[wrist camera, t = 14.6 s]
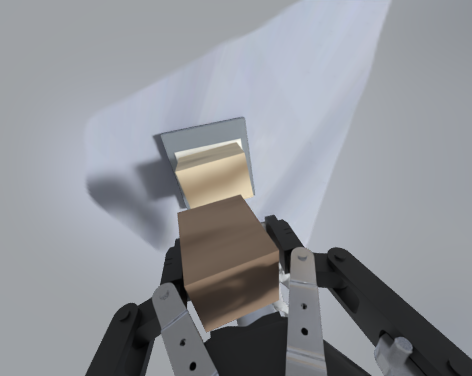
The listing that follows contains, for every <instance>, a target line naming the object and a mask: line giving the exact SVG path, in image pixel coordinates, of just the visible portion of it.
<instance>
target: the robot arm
mask: <svg viewBox="0 0 472 376" xmlns="http://www.w3.org/2000/svg"><path fill="white" fill-rule="evenodd" d="M265 225H266V232H267V234H268V235H269V236H270V238H271V239H272V241H273V242H274V244H275V245H276V247H277V248H278V250H279V263H280V265H281V267H282V269H283V271H284V273H285V274H289V273H290V284H289V309H288V317H281V315H280V313H279V311H277V312H275V310H274V307H273V305H272V304H269V305H267V306H265V307H263V308H260V309H258V310H256V311H254V312H251V313H249V314H247V315H245V316H242V317H240V318H238V319H237V324H238V326H227V327H224V328H220V329H217V330H214V331H211V332H210V335H211V338H210V339H208V340H207V341H206V342H203V340H202V338H201V336H200V334H199V332H198V330H197V328H196V326H195V324H194V322H193V320H192V318H191V316H190V314H189V312H188V310H187V302H188V301H191V299H190V297H189V295H188V293H187V291H186V289H185V287H184V278H183V267H182V257H181V246H180V238H178V239H176V240H175V246H174V247H171V248H169V250H168V252H167V253H166V257H165V262H164V268H163V273H162V278H161V283H160V286H159V287H158V288H157V289H156V290H155V292H154V293H153V296H152V297H151V298H150V299H149V300H147V301H145V302H144V303H142V304H140V305H138V306H137V305H136V304H135V303H128V304H126V305H124V306H123V307H121V308H120V309H119V310H118V311H117V312H116V313H115V315H114V317H113V318H112V321H111V323H110V325H109V327H108V329H107V331H106V333H105V335H104V337H103V339H102V341H101V344H100V346H99V348H98V350H97V352H96V354H95V356H94V358H93V360H92V362H91V365H90V367H89V368H88V371H87V373H86V375H85V376H145V374H146V370H147V366H148V363H149V359H150V355H151V352H152V348H153V344H154V340H155V338H156V337H157V336H159V335H160V334H161V335H162V338H163V341H164V344H165V347H166V350H167V353H168V356H169V359H170V362H171V365H172V369H173V371H174V375H175V376H371V375H370V374H369V373H367V372H366V371H365V370H363V369H362V368H361V367H359V366H358V365H357V364H355V363H354V362H353V361H351V360H350V359H349V358H347V357H346V356H345V355H344V354H342V353H341V352H340V351H338V350H337V349H335V348H334V347H333V346H332V345H330V344H329V343H328V342H326V341H325V340H323V336H322V325H321V315H320V304H319V294H318V287H322V288H328V289H329V291H330V292H331V293H332V294H333V296H334V297H335V298H336V299H337V301H338V302H339V303H340V304H341V305H342V307H343V308H344V309H345V310H346V312H347V313H348V314H349V315H350V316H351V318H352V319H353V320H354V321H355V323H356V324H357V325H358V326H359V328H360V329H361V330H362V331H363V332H364V334H365V335H366V336H367V337H368V339H369V340H370V341H371V342H372V344H373V345H374V346H375V347H376V348H375V350H374V356H375V360H376V362H377V365H378V366H379V368H380V369H381V371H382V373H383V375H384V376H472V359H471V358H469V357H468V356H467V355H466V354H465V353H464V352H463V351H462V350H460V349H459V348H458V347H457V346H456V345H455V344H453V343H452V342H451V341H450V340H449V339H448V338H447V337H445V336H444V335H443V334H442V333H441V332H440V331H439V330H437V329H436V328H435V327H434V326H433V325H432V324H430V323H429V322H428V321H427V320H426V319H425V318H424V317H423V316H421V315H420V314H419V313H418V312H417V311H416V310H415V309H413V308H412V307H411V306H410V305H409V304H408V303H406V302H405V301H404V300H403V299H402V298H401V297H400V296H399V295H397V294H396V293H395V292H394V291H393V290H392V289H391V288H389V287H388V286H387V285H386V284H385V283H384V282H382V281H381V280H380V279H379V278H378V277H377V276H375V274H373V273H372V272H371V271H370V270H369V269H368V268H366V267H365V266H364V265H363V264H362V263H361V262H360V261H359V260H357V259H356V258H355V257H354V256H353V255H352V254H351V253H349V252H348V251H347V250H345V249H342V248H337V247H335V248H331V249H330V250H329V251H328V253H325V254H324V253H313V252H311V251H310V250H309V249H307V248H305V247H304V246H303V245H302V243H301V242H300V240H299V239H298V237H297V236H296V234H295V233H294V232H293V230H292V228H291V227H290V226H289V224H288V223H287V222H286V221H284V220H283V219H282V220H277V218H276V217H275V215H271V216H267V217H265Z"/></svg>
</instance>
